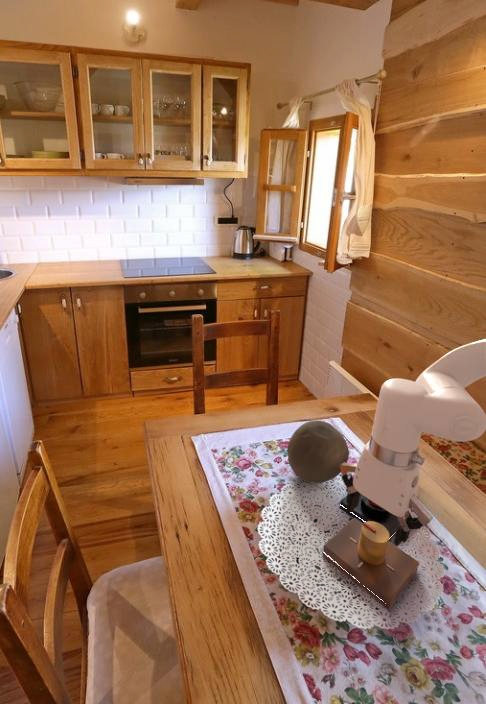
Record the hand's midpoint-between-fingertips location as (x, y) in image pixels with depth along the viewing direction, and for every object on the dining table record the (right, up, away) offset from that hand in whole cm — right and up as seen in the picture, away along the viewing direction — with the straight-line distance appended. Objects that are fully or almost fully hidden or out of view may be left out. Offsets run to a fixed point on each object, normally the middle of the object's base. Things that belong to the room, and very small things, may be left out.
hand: (374, 524), depth 76 cm
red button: (+6, -2, +15) cm, 16 cm away
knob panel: (0, -10, +3) cm, 10 cm away
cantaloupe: (-5, -2, +27) cm, 27 cm away
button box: (+6, -6, +16) cm, 18 cm away
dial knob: (0, -7, +2) cm, 7 cm away
